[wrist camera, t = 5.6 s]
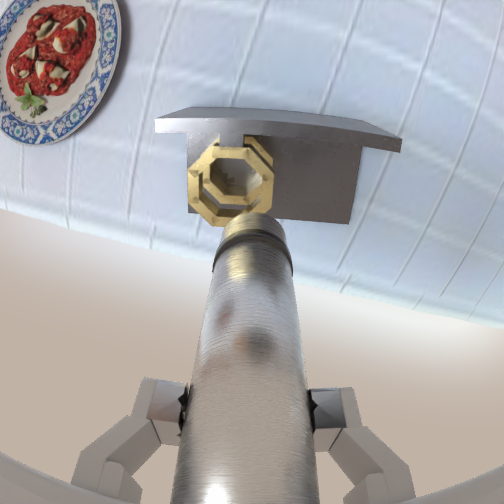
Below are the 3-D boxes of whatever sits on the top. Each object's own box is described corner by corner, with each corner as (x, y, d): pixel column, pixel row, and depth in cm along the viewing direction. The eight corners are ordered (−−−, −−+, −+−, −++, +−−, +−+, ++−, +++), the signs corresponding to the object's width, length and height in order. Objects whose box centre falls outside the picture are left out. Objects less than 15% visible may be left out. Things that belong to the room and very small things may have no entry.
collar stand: (362, 120, 33) (402, 138, 22) (346, 220, 39) (371, 272, 29) (189, 107, 33) (155, 118, 23) (190, 209, 40) (163, 258, 29)
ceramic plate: (42, -42, 20) (31, -45, 17) (169, 7, 27) (161, 2, 24) (-25, 102, 31) (-37, 105, 28) (72, 174, 38) (60, 181, 35)
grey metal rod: (291, 212, 18) (350, 553, 4) (284, 272, 21) (308, 563, 6) (219, 208, 18) (140, 547, 4) (219, 268, 21) (173, 558, 6)
